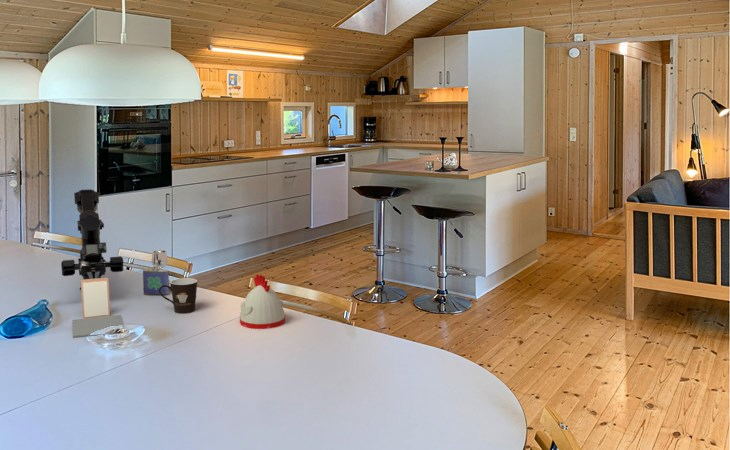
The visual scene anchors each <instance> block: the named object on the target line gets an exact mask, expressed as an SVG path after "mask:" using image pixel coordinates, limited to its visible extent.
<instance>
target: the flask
mask: <svg viewBox="0 0 730 450" xmlns="http://www.w3.org/2000/svg"><path fill="white" fill-rule="evenodd" d="M152 267H153V268H150V267H148V268H147V269H143V271H142V278H143V279H142V280H143V283H142V284H143V287H142V289H143V290H142V291H143V295H144V296H159V297H162V296H161V295H160V293H159V288H160V287H161V286H163V285H168V286H170V279H169V278H170V277H169V274H170V273H169V270H168V269H161V270H159V269H158V268H157V267H158V266H157V265H156V266H152ZM161 293H162V294H163V296H169V295H170V289H169V288H168V287H162V288H161Z"/></svg>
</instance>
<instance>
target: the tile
mask: <svg viewBox="0 0 730 450" xmlns="http://www.w3.org/2000/svg"><path fill="white" fill-rule="evenodd" d="M109 280H110V279H109V277H101V278H97V279H85V280H83V279H80V288H81V289H80V290H81V291H80V293H81V294H80V296H81V308H82V312H81V313H82V319H86V318H95V317H105V316H111V303H110V302H111V301H110V284H109Z"/></svg>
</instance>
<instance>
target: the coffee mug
mask: <svg viewBox="0 0 730 450" xmlns="http://www.w3.org/2000/svg"><path fill="white" fill-rule="evenodd" d="M162 287H168V288H169V292H171V297H172V298H171V299H172V300H171V299H170V298H169V297H166V295H164V296H163V294H162V293H161V288H162ZM197 289H198V280H197V279H196V278H193V277H182V278H175V279H171V280H169V286H168V285H163V286H161V287H160V288H159V293H160V295H161V296H160V297H162V298H163V299H165V300H167V301H168V302H170V303H171V304H173V305H172V306H173V309H174V313H175V314H180V315H182V314H183V315H184V314H190V313H194V312H195V311H196V301H197V300H196V299H197V291H198V290H197Z"/></svg>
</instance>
